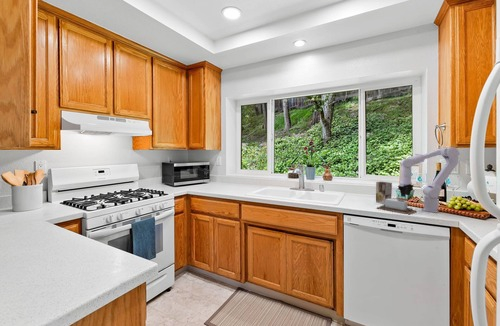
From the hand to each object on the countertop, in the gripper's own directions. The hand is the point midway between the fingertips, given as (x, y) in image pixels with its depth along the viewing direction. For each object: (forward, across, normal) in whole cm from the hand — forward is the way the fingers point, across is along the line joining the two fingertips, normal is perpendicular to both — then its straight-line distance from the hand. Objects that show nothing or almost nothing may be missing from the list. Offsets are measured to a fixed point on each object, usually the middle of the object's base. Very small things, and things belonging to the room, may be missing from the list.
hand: (405, 195), depth 166 cm
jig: (+9, +7, -3) cm, 12 cm away
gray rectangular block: (+9, +7, -3) cm, 12 cm away
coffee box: (+10, -8, -18) cm, 22 cm away
